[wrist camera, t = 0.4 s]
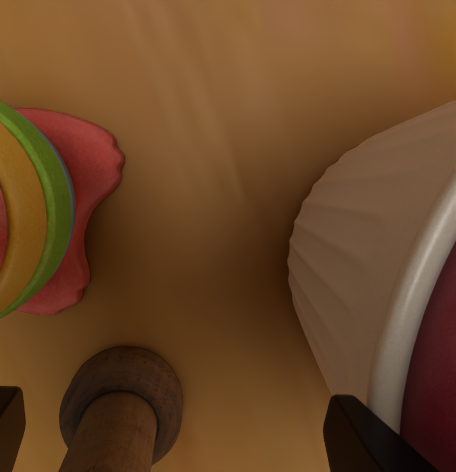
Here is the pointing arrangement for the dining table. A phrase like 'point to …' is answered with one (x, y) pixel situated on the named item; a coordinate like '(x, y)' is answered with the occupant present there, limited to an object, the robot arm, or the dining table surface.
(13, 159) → the stacking bear
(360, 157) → the canister
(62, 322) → the dining table surface
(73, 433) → the brown turned post
